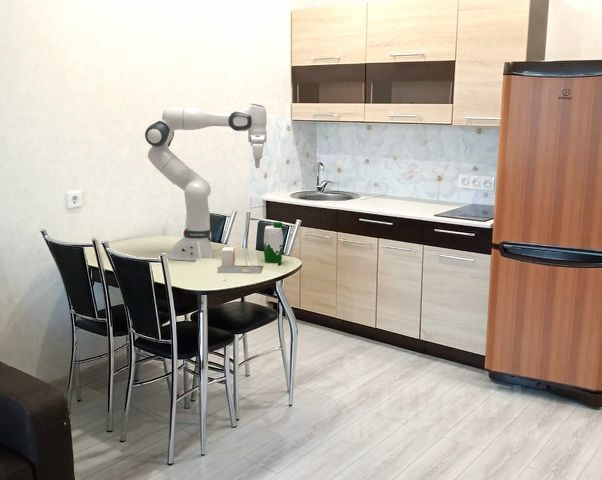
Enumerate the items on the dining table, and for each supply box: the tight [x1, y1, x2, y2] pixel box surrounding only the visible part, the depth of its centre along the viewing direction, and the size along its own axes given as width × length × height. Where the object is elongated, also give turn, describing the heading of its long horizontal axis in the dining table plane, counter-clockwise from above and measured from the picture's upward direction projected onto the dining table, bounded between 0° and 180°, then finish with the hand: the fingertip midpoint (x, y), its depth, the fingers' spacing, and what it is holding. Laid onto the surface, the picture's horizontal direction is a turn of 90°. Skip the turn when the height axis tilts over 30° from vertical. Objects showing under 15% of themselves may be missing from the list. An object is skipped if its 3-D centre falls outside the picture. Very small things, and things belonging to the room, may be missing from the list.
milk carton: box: [263, 221, 284, 266], centre depth 306 cm, size 9×9×20 cm
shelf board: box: [216, 264, 264, 274], centre depth 291 cm, size 20×14×1 cm
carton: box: [221, 246, 236, 267], centre depth 292 cm, size 7×5×9 cm
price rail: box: [217, 266, 261, 274], centre depth 284 cm, size 19×1×2 cm, turn 89°
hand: (257, 167), depth 308 cm, fingers open, 8 cm apart
